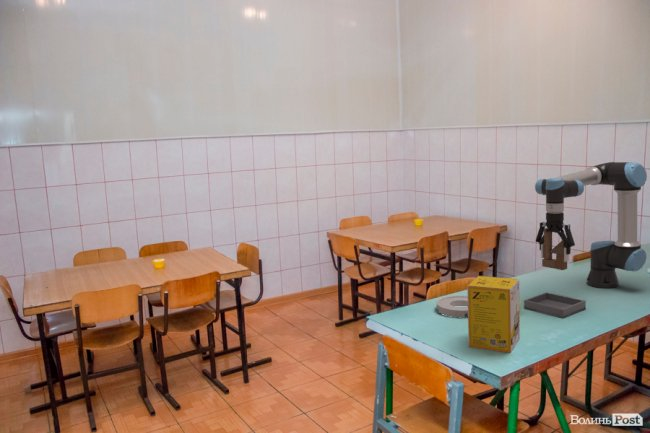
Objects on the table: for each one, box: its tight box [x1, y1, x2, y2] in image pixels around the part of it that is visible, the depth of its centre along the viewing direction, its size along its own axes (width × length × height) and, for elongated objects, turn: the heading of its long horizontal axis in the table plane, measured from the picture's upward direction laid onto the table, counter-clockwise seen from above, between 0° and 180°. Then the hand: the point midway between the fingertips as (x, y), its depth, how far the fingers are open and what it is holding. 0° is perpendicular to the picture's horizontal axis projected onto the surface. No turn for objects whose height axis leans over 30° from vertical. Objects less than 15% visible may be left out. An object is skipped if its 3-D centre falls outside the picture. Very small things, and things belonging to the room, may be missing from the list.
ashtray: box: [436, 295, 468, 319], centre depth 263 cm, size 23×23×4 cm
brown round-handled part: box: [541, 227, 568, 271], centre depth 253 cm, size 4×11×18 cm, turn 34°
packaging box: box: [466, 275, 521, 354], centre depth 219 cm, size 16×16×25 cm
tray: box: [523, 292, 587, 319], centre depth 257 cm, size 18×20×4 cm
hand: (554, 259), depth 253 cm, fingers closed on brown round-handled part, 11 cm apart
